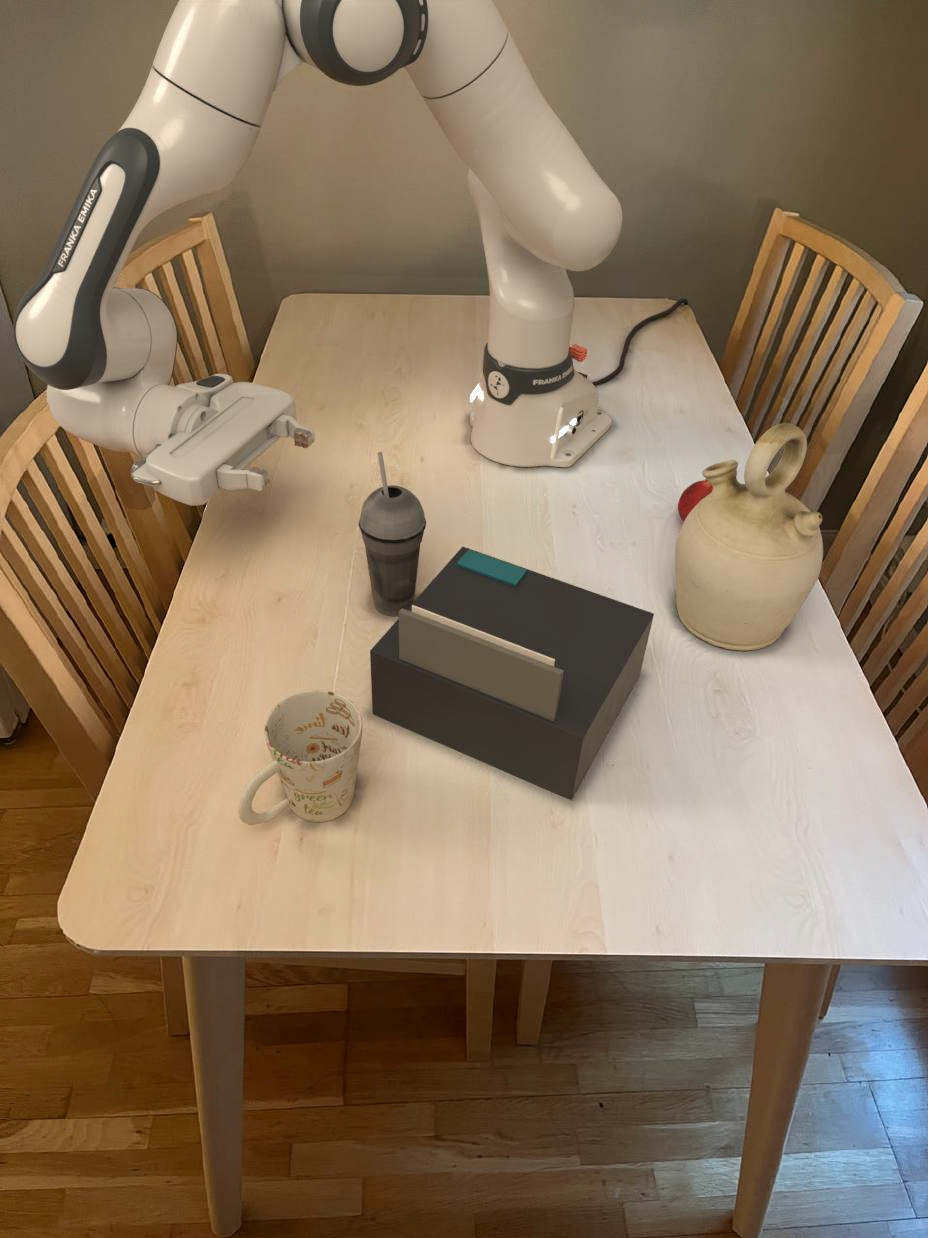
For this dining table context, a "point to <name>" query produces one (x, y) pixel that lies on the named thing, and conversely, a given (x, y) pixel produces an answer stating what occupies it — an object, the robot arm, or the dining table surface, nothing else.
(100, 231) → the robot arm
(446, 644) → the printer
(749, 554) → the jug
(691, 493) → the red pomegranate
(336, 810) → the mug
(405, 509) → the beverage cup
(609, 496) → the dining table surface
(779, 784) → the dining table surface
